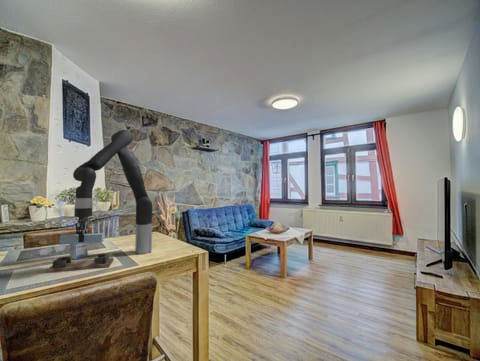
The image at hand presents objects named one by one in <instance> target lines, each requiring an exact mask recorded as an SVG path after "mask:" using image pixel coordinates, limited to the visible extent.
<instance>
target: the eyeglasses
mask: <svg viewBox="0 0 480 361" xmlns="http://www.w3.org/2000/svg"><path fill="white" fill-rule="evenodd" d="M66 247H67V248H68V249H70V246H68V245H66V244H63V245H57V246H55V247H45V248H42V249H40V250H39V251H38V253H39V254H40V256H43V257H44V258H45V255H49V254H51V252H52V251H53V249H54V251H55V253H57V252H58V251H59V252H62V251H65V250H66Z"/></svg>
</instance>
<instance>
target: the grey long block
mask: <svg viewBox="0 0 480 361" xmlns="http://www.w3.org/2000/svg"><path fill="white" fill-rule="evenodd" d="M104 235H105V233H104V232H98V233H97V232H96V233H94V232H93V233H87V234H84V242H78V237H79V235H78V234H77V233H75V234H71V233H70V234H62V235H60V236H59V246H61V245H70V244H81V243H88V244H94V243H95V244H97V243H99V244H100V243H103V242H104V237H105V236H104Z"/></svg>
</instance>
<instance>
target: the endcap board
mask: <svg viewBox="0 0 480 361" xmlns="http://www.w3.org/2000/svg"><path fill="white" fill-rule="evenodd" d="M113 262H114V257H110V253H109V252H107V253H98V254H97V257H94V258H93V259H86V260H73V261H72V259H71V256H69V255H68V256H59V257H58V258H56V259H55V260H53V261H52V265H51V266H49V267H48V268H46V270H45V273H46V274H49V273H50V274H51V273H60V272H70V271H81V270H94V268H95V269H102V268H103V269H105V268H110V267H111V265H112V264H113Z"/></svg>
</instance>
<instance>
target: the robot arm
mask: <svg viewBox="0 0 480 361" xmlns="http://www.w3.org/2000/svg"><path fill="white" fill-rule="evenodd" d="M110 141H111V142H110V143H108V144H107V145H106V146H104V147H102V149H100V150H99V151H98V152H97V153H96V154H94V155H92V156H91V158H89V160H87V161H85V162H84V163H82V164H80V165H78V167H77V168H75V169H74V171H73V173H72V176H73V177H72V178H73V179H74V180H75V181H76V182H77V181H78V182H80V185H79V186H77V187H76V188H75V199H74V217H75V218H78V220H77V222H76V223H75V232H76V233H75V234H78V235H79V237H78V242H84V234H88V232H89V230H90V224H91V219H89V217H92V216H93V208H94V207H93V206H94V205H93V202H94V201H93V189H94V186H95V183H96V179H97V173H96V172H97V171H100V170H101V169H102V168H104V167H105V166H106V165H107V164H108V163H109V162H110V161H111V160H112V159H113V158H114V157H115V155H117V157H118V159H119V162H120V165H121V167H122V171H123V173H124V176H125V179H126V181H127V183H128V186H129V187H130V189H131V191H132V193H133V195H134V196H133V197H134V200H135V243H134V244H135V248H134V249H135V250H134V252H135V254H139V255H141V254H142V255H143V254H149V253H152V251H153V250H152V249H153V234H152V233H153V210H154V208H153V207H154V206H153V202H152V200H151V198H150V197H149V194H148V192H147V190H146V186H145V181H144V177H143V173H142V171H141V167H140V165H139V164H138V162H137V161H136V160H135V159H134V157H132V156H131V154H130V152H129V149H128V145H130V144H131V143H132V142H133V134H132V133H131V132H130V131H129V130H127V129H120V130H117V132H115V133H113V134H112V135H111V136H110Z"/></svg>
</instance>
